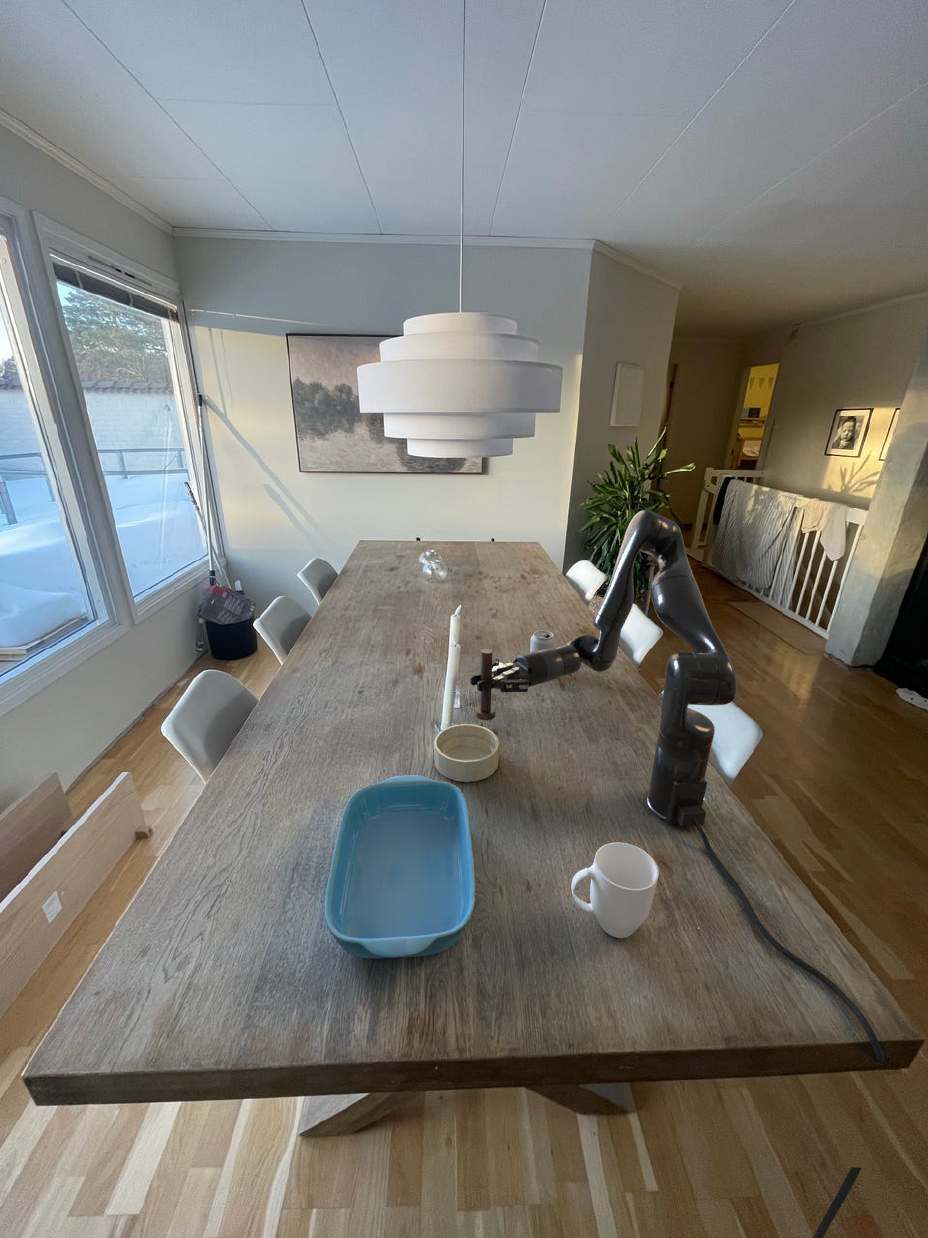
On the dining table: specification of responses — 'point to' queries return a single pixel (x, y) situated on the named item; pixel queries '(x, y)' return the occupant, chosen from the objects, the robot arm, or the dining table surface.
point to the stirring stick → (485, 708)
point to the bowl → (466, 752)
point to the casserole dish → (401, 870)
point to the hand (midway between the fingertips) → (474, 683)
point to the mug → (619, 887)
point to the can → (542, 641)
